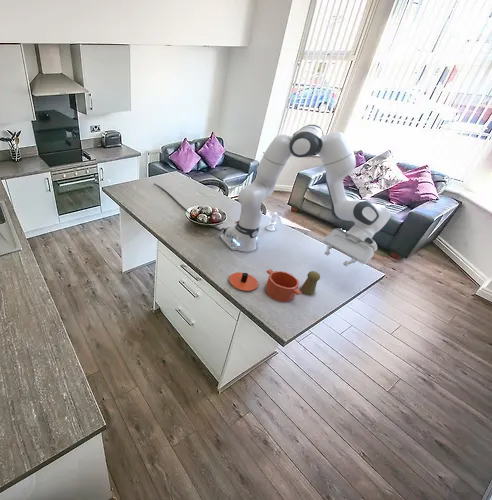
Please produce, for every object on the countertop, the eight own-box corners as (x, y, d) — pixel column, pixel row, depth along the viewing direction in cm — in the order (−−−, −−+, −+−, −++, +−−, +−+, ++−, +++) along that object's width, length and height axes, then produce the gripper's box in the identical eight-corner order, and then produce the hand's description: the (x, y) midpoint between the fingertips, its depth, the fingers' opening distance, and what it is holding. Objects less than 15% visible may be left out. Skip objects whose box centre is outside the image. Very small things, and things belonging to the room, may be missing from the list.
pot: (284, 309, 128) (290, 295, 123) (255, 284, 141) (259, 272, 137) (304, 300, 132) (310, 287, 128) (274, 277, 146) (278, 265, 141)
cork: (302, 285, 141) (309, 267, 135) (315, 290, 138) (323, 272, 132) (298, 291, 137) (306, 273, 131) (312, 297, 134) (320, 279, 128)
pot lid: (242, 295, 135) (244, 286, 132) (223, 278, 145) (225, 270, 142) (263, 287, 140) (266, 278, 137) (243, 271, 150) (246, 263, 147)
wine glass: (274, 231, 184) (279, 214, 178) (265, 229, 186) (270, 212, 180) (275, 228, 188) (280, 211, 181) (267, 226, 190) (271, 209, 184)
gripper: (334, 223, 137) (313, 245, 139) (379, 245, 122) (355, 269, 124) (337, 229, 141) (316, 251, 143) (381, 251, 126) (357, 274, 128)
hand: (335, 259), depth 133 cm, fingers open, 8 cm apart
